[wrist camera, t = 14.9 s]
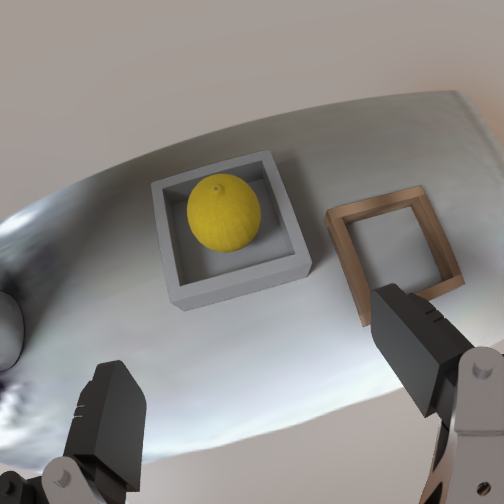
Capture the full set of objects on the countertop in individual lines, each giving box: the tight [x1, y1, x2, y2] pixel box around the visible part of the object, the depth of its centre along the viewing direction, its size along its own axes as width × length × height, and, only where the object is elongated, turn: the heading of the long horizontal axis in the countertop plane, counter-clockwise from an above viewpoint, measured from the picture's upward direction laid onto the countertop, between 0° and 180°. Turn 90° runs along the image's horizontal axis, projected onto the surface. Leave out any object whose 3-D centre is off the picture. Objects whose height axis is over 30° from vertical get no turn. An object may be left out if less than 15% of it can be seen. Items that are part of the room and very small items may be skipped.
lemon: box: [187, 174, 261, 253], centre depth 24 cm, size 6×6×8 cm
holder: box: [151, 149, 312, 311], centre depth 27 cm, size 11×11×4 cm
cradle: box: [324, 186, 465, 327], centre depth 26 cm, size 10×10×2 cm
